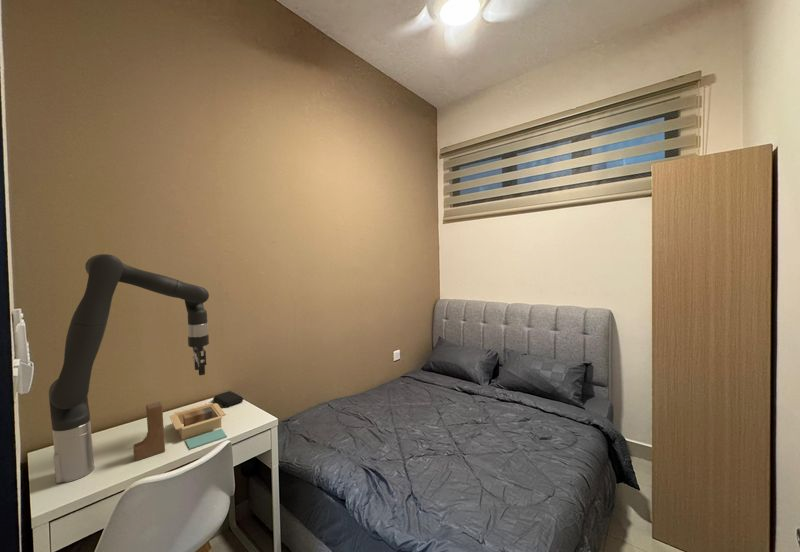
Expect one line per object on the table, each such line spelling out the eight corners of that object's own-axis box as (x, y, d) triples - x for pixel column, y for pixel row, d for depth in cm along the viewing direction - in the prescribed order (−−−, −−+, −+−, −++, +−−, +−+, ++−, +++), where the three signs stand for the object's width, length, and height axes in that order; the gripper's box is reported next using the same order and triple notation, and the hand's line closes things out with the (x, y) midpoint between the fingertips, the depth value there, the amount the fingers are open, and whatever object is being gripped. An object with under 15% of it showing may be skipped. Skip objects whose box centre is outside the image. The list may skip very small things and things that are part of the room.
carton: (177, 443, 134) (176, 431, 134) (169, 425, 149) (168, 414, 148) (227, 427, 146) (227, 415, 146) (216, 411, 161) (215, 401, 160)
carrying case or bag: (209, 402, 172) (223, 410, 163) (209, 396, 172) (222, 404, 163) (231, 395, 180) (245, 402, 171) (230, 389, 180) (244, 396, 171)
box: (186, 432, 142) (185, 418, 142) (183, 428, 146) (182, 414, 146) (213, 424, 149) (212, 410, 148) (210, 420, 153) (209, 407, 152)
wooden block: (135, 461, 123) (131, 412, 121) (134, 456, 126) (130, 408, 125) (165, 451, 129) (162, 404, 127) (163, 446, 132) (160, 401, 131)
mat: (189, 449, 130) (189, 448, 130) (185, 441, 136) (185, 440, 136) (226, 437, 138) (226, 435, 138) (221, 429, 144) (221, 428, 144)
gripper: (184, 332, 147) (186, 370, 148) (191, 338, 136) (192, 379, 137) (204, 330, 152) (206, 366, 153) (212, 335, 141) (213, 374, 142)
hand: (199, 372), depth 145 cm, fingers open, 8 cm apart
